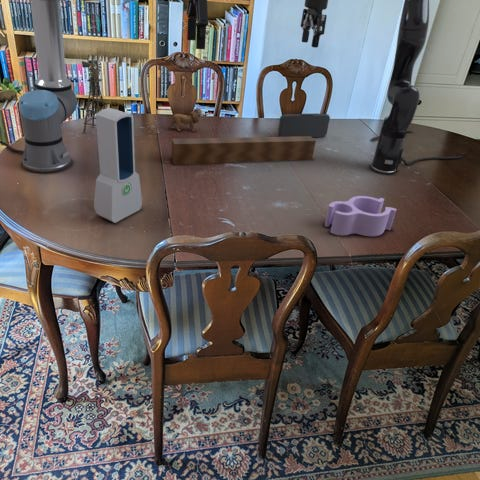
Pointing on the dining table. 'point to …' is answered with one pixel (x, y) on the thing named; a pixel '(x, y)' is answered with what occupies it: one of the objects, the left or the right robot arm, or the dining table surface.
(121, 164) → the electronic device
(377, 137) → the sword
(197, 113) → the lion figurine
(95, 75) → the miniature windmill
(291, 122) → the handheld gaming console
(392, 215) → the clip
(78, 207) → the dining table surface
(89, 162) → the dining table surface
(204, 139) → the beam
